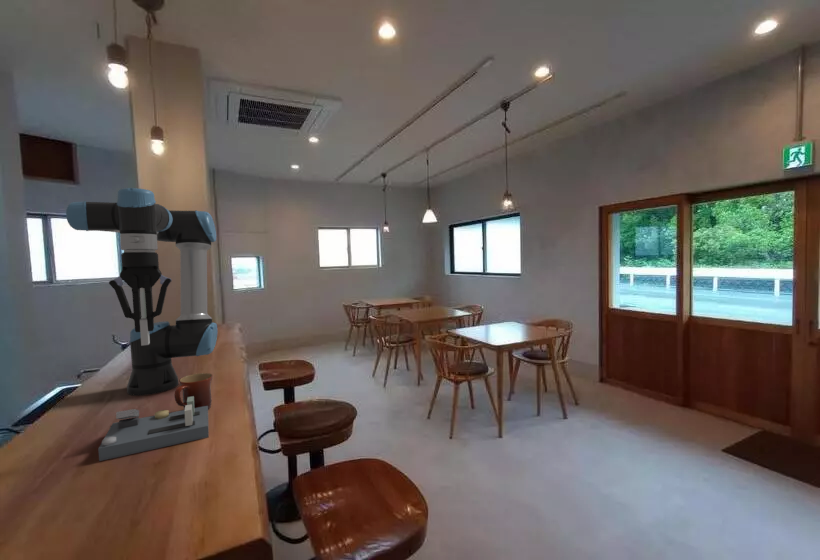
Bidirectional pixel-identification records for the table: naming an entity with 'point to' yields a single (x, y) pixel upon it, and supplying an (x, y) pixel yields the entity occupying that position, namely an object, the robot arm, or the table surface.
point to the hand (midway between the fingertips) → (145, 344)
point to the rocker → (127, 414)
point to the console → (153, 432)
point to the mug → (195, 390)
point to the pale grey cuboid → (188, 415)
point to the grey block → (191, 401)
